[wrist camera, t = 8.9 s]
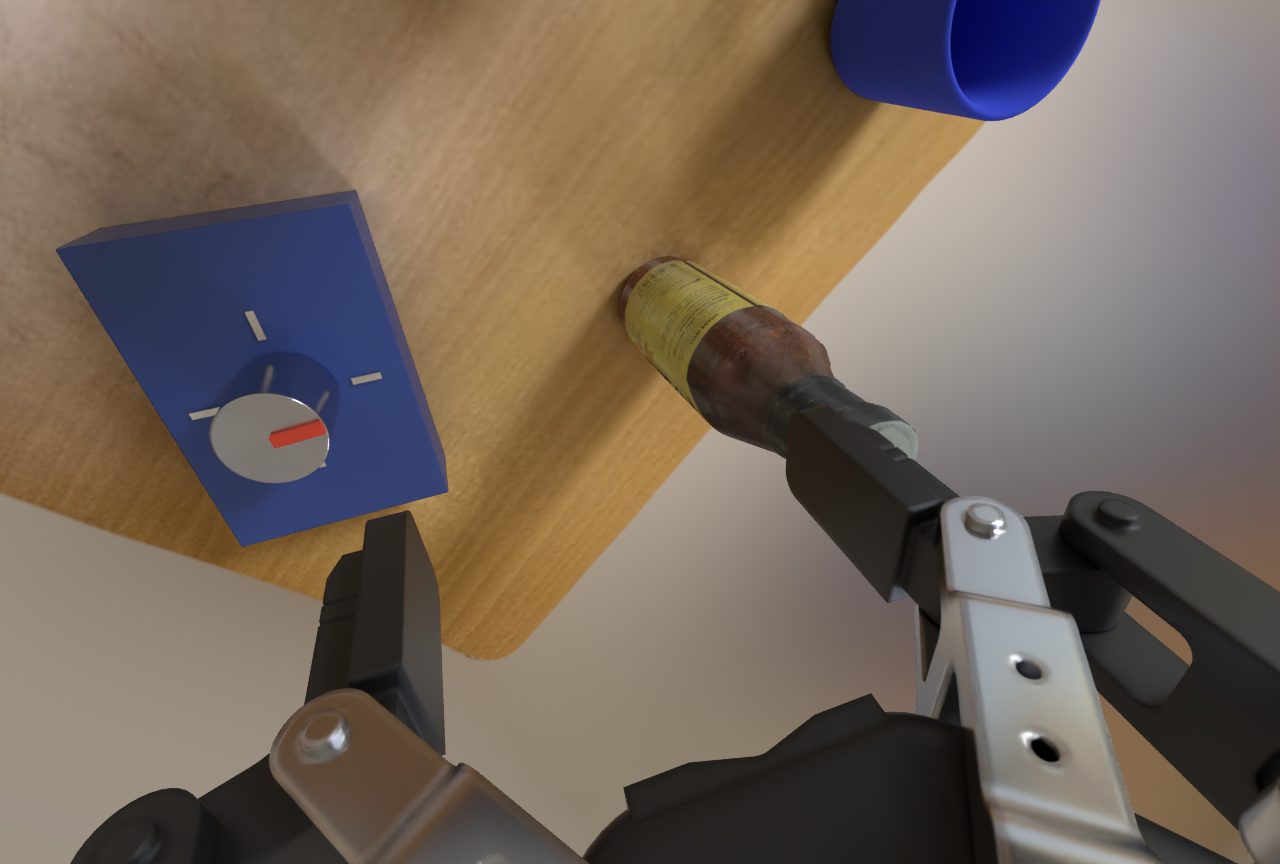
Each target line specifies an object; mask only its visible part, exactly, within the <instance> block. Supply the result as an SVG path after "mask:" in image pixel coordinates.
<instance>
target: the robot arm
mask: <svg viewBox="0 0 1280 864" xmlns="http://www.w3.org/2000/svg"><path fill="white" fill-rule="evenodd" d="M786 477H787V482H788V485H789V487H790V490H791V491H792V493H793V495H794V496H795V498H796V499H797V500H798V501H799V502H800V504H802V505H803V507H804V508H805V509H806V510H807V511H808V513H809V514H810V515H811V516H812V517H813V518H814V520H815V521H816V522H817V523H818V524H819V525H820V526H821V528H822V529H823V530H824V531H825V532H826V533H827V534H828V536H829V537H830V538H831V539H832V540H833V541H834V542H835V544H836V545H837V546H838V547H839V548H840V549H841V550H842V552H843V553H844V554H845V555H846V556H847V557H848V558H849V560H850V561H851V562H852V563H853V564H854V565H855V566H856V568H857V569H858V570H859V571H860V572H861V573H862V574H863V576H864V577H865V578H866V579H867V580H868V581H869V582H870V584H871V585H872V586H873V587H874V588H875V589H876V590H877V592H878V593H879V594H880V595H881V596H882V597H883V598H884V599H885V601H886V602H887V603H891V602H894V601H897V600H900V599H903V598H906V597H909V596H910V597H911V598H912V599H913V600H914V601H915V602H916V603H917V604H916V607H915V612H914V630H915V658H916V683H917V701H916V711H915V714H913V713H905V712H884V711H883V709H882V708H881V706H880V705H879V704H878V703H877V701H876V699H875V698H874V697H873V695H872V694H868V695H865V696H863V697H860V698H857V699H855V700H852V701H849V702H847V703H844V704H842V705H839V706H836V707H834V708H831V709H828V710H826V711H823V712H821V713H818V714H815V715H814V716H812V717H811V718H810V719H809V720H807V721H806V722H805V723H803V724H802V725H801V726H800V727H798V728H797V729H796V730H794V731H793V732H792V733H791V734H789V735H788V736H787V737H786V738H784V739H783V740H782V741H780V742H779V743H778V744H777V745H776V746H774V747H773V748H771V749H770V750H769V751H767V752H766V753H764V754H762V755H759V756H754V757H743V758H733V759H722V760H712V761H701V762H690V763H687V764H684V765H681V766H679V767H676V768H673V769H671V770H668V771H666V772H663V773H660V774H658V775H655V776H652V777H650V778H647V779H645V780H642V781H639V782H637V783H634V784H631V785H629V786H626V787H624V793H625V798H626V803H627V808H628V809H627V810H625V811H624V812H623V813H621V814H620V815H619V816H618V817H616V818H615V819H614V820H613V821H612V822H611V823H610V824H609V825H608V826H607V827H606V828H605V829H604V830H603V831H602V832H601V833H600V834H599V835H598V836H597V838H596V839H595V840H594V841H593V843H592V844H591V845H590V846H589V848H588V849H587V851H586V852H585V854H584V855H583V857H581V856H579V855H578V854H577V853H576V852H575V851H573V850H572V849H571V848H570V847H569V846H567V845H566V844H565V843H564V842H562V841H561V840H560V839H559V838H557V837H556V836H555V835H554V834H553V833H552V832H550V831H549V830H548V829H547V828H546V827H544V826H543V825H542V824H541V823H539V822H538V821H537V820H536V819H535V818H533V817H532V816H531V815H530V814H529V813H527V812H526V811H525V810H524V809H522V808H521V807H520V806H519V805H518V804H516V803H515V802H514V801H513V800H512V799H510V798H509V797H508V796H507V795H505V794H504V793H503V792H502V791H501V790H499V789H498V788H497V787H496V786H494V785H493V784H492V783H491V782H490V781H489V780H487V779H486V778H485V777H484V776H483V775H481V774H480V773H479V772H477V771H476V770H475V769H473V768H472V767H470V766H469V765H467V764H464V763H459V764H458V765H457V766H454V765H453V764H451V763H450V762H448V761H447V760H446V759H445V758H443V757H442V755H445V728H444V704H443V703H444V702H443V679H442V678H443V677H442V651H441V626H440V600H439V591H438V585H437V580H436V576H435V573H434V569H433V566H432V564H431V561H430V559H429V556H428V554H427V551H426V549H425V546H424V544H423V541H422V538H421V536H420V533H419V531H418V528H417V526H416V523H415V521H414V518H413V516H412V514H411V513H410V511H408V510H407V511H403V512H399V513H395V514H392V515H388V516H384V517H380V518H376V519H372V520H368V521H367V522H366V526H365V534H364V543H363V550H360V551H357V552H353V553H349V554H345V555H342V557H341V558H340V560H339V561H338V563H337V564H336V566H335V567H334V569H333V570H332V572H331V573H330V575H329V576H328V578H327V581H326V587H325V592H324V598H323V605H324V606H323V607H322V609H321V615H320V620H319V622H320V626H319V627H318V632H317V637H316V643H315V648H314V654H313V660H312V665H311V670H310V676H309V682H308V687H307V693H306V698H305V703H304V706H303V707H301V708H300V709H298V710H297V711H296V712H295V713H294V714H293V715H292V716H291V717H290V718H289V719H288V721H287V722H286V723H285V724H284V725H283V727H282V728H281V730H280V731H279V732H278V734H277V736H276V739H275V740H274V742H273V745H272V748H271V751H270V754H268V755H267V756H265V757H264V758H263V759H262V760H260V761H259V762H257V763H256V764H254V765H253V766H251V767H250V768H248V769H246V770H245V771H243V772H242V773H240V774H238V775H236V776H235V777H233V778H231V779H230V780H228V781H226V782H225V783H223V784H222V785H220V786H218V787H217V788H215V789H213V790H212V791H210V792H208V793H207V794H205V795H203V796H202V797H200V798H198V799H197V798H196V797H195V796H194V795H193V794H191V793H190V792H188V791H186V790H183V789H180V788H168V789H161V790H158V791H155V792H152V793H149V794H146V795H144V796H142V797H140V798H138V799H136V800H134V801H132V802H131V803H129V804H127V805H126V806H125V807H123V808H121V809H120V810H119V811H117V812H116V813H114V814H113V815H112V816H111V817H110V818H108V819H107V820H106V821H105V822H104V823H103V824H102V825H101V826H100V827H98V828H97V829H96V830H95V831H94V833H93V834H92V835H91V836H90V837H89V838H88V839H87V840H86V841H85V843H84V844H83V845H82V847H81V848H80V849H79V851H78V852H77V854H76V855H75V857H74V859H73V860H72V862H71V864H1237V863H1235V862H1233V861H1231V860H1229V859H1227V858H1225V857H1223V856H1221V855H1219V854H1217V853H1215V852H1213V851H1211V850H1209V849H1207V848H1205V847H1203V846H1201V845H1199V844H1197V843H1195V842H1193V841H1191V840H1189V839H1186V838H1185V837H1182V836H1181V835H1179V834H1176V833H1174V832H1172V831H1170V830H1168V829H1166V828H1164V827H1162V826H1160V825H1158V824H1156V823H1154V822H1152V821H1150V820H1148V819H1146V818H1144V817H1142V816H1140V815H1138V814H1136V813H1134V812H1133V809H1132V805H1131V802H1130V799H1129V796H1128V792H1127V789H1126V786H1125V782H1124V779H1123V776H1122V773H1121V769H1120V766H1119V763H1118V759H1117V756H1116V753H1115V749H1114V746H1113V743H1112V740H1111V736H1110V733H1109V730H1108V726H1107V723H1106V720H1105V717H1104V713H1103V711H1102V707H1101V703H1100V700H1099V697H1098V694H1097V691H1098V692H1099V693H1100V694H1101V695H1102V696H1103V697H1104V698H1105V699H1106V700H1107V701H1108V702H1109V703H1110V704H1111V705H1112V706H1113V707H1114V708H1115V709H1116V710H1117V711H1118V712H1119V713H1120V714H1121V715H1122V716H1123V717H1124V718H1125V719H1126V720H1127V721H1128V722H1129V723H1130V724H1131V725H1132V726H1133V727H1134V728H1135V729H1136V730H1137V731H1138V732H1139V733H1140V734H1141V735H1142V736H1143V737H1144V738H1145V739H1146V740H1147V741H1148V742H1150V744H1152V745H1153V747H1154V748H1155V749H1157V751H1159V753H1160V754H1161V755H1163V756H1164V757H1165V758H1166V759H1167V760H1168V761H1169V762H1170V763H1171V764H1172V765H1173V766H1174V767H1175V768H1176V769H1177V770H1178V771H1179V772H1180V773H1181V774H1182V775H1183V776H1184V777H1185V778H1186V779H1187V780H1188V781H1189V782H1190V783H1191V784H1192V785H1193V786H1194V787H1195V788H1196V789H1197V790H1198V791H1199V792H1200V793H1201V794H1202V795H1203V796H1204V797H1205V798H1206V799H1207V800H1208V801H1209V802H1210V803H1211V804H1212V805H1213V806H1214V807H1215V808H1216V809H1217V810H1218V811H1219V812H1220V813H1221V814H1222V815H1223V816H1224V817H1225V818H1226V819H1227V820H1228V821H1229V822H1230V823H1231V824H1232V825H1233V826H1234V827H1235V828H1236V829H1237V830H1238V831H1239V832H1240V835H1241V838H1242V841H1243V844H1244V845H1245V847H1246V849H1247V851H1248V853H1249V854H1250V856H1251V857H1252V859H1253V860H1254V863H1253V864H1280V592H1279V591H1277V590H1276V589H1274V588H1272V587H1271V586H1270V585H1268V584H1267V583H1265V582H1264V581H1262V580H1260V579H1259V578H1257V577H1255V576H1254V575H1253V574H1251V573H1250V572H1248V571H1247V570H1245V569H1244V568H1242V567H1240V566H1239V565H1237V564H1236V563H1234V562H1233V561H1231V560H1230V559H1228V558H1227V557H1225V556H1223V555H1222V554H1220V553H1219V552H1217V551H1216V550H1214V549H1213V548H1211V547H1210V546H1208V545H1206V544H1205V543H1203V542H1202V541H1200V540H1199V539H1197V538H1196V537H1194V536H1192V535H1191V534H1189V533H1188V532H1186V531H1185V530H1183V529H1182V528H1180V527H1179V526H1177V525H1176V524H1174V523H1173V522H1171V521H1170V520H1168V519H1166V518H1165V517H1163V516H1162V515H1160V514H1159V513H1157V512H1155V511H1154V510H1152V509H1151V508H1149V507H1148V506H1146V505H1144V504H1143V503H1141V502H1139V501H1136V500H1134V499H1132V498H1129V497H1126V496H1123V495H1120V494H1116V493H1111V492H1104V491H1087V492H1081V493H1079V494H1076V495H1075V496H1073V497H1072V498H1071V499H1070V501H1069V504H1068V506H1067V508H1066V511H1065V513H1064V515H1061V516H1033V517H1022V516H1021V515H1020V514H1019V513H1018V512H1017V511H1016V510H1014V509H1013V508H1011V507H1009V506H1008V505H1006V504H1004V503H1001V502H999V501H996V500H993V499H990V498H985V497H980V496H961V497H960V496H958V495H957V494H956V493H955V492H953V491H952V490H951V489H950V488H948V487H947V486H946V485H945V484H943V483H942V482H941V481H939V480H938V479H937V478H936V477H935V476H933V475H932V474H931V473H929V472H928V471H927V470H926V469H924V468H923V467H922V466H921V465H919V464H918V463H917V462H916V461H914V460H913V459H912V458H910V459H909V458H908V455H907V454H906V453H904V452H903V451H902V450H901V449H899V448H898V447H894V444H893V443H892V442H890V441H889V440H888V439H887V438H885V437H884V436H883V435H882V434H880V433H879V432H878V431H876V430H874V429H872V428H869V427H867V426H864V425H862V424H860V423H857V422H855V421H852V422H848V421H847V420H846V419H845V418H844V417H842V416H841V415H840V414H839V413H837V412H836V411H835V410H834V409H833V408H831V407H830V406H828V405H823V406H819V407H815V408H811V409H807V410H803V411H799V412H796V413H793V414H792V415H791V417H790V420H789V429H788V444H787V459H786ZM1132 596H1134V597H1136V598H1137V599H1138V600H1139V601H1141V602H1142V603H1143V604H1144V605H1146V606H1147V607H1148V608H1149V609H1151V610H1152V611H1153V612H1155V613H1156V614H1157V615H1158V616H1159V617H1161V618H1162V619H1163V620H1165V621H1166V622H1167V623H1168V624H1170V625H1171V626H1172V627H1173V628H1175V629H1176V630H1177V631H1178V632H1179V633H1180V634H1181V635H1182V636H1183V637H1184V638H1185V640H1186V641H1187V642H1188V644H1189V646H1190V648H1191V651H1192V656H1193V660H1192V663H1191V665H1190V666H1189V665H1188V664H1187V663H1185V662H1184V661H1183V660H1182V659H1181V658H1180V657H1178V656H1177V655H1176V654H1175V653H1174V652H1172V651H1171V650H1170V649H1169V648H1168V647H1166V646H1165V645H1164V644H1163V643H1162V642H1160V641H1159V640H1158V639H1157V638H1156V637H1154V636H1153V635H1152V634H1151V633H1150V632H1148V631H1147V630H1146V629H1145V628H1143V627H1142V626H1141V625H1140V624H1139V623H1138V622H1136V621H1135V620H1134V619H1133V618H1132V617H1130V616H1129V615H1128V614H1127V613H1126V612H1124V611H1125V609H1126V607H1127V605H1128V603H1129V602H1130V600H1131V598H1132Z"/></svg>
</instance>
